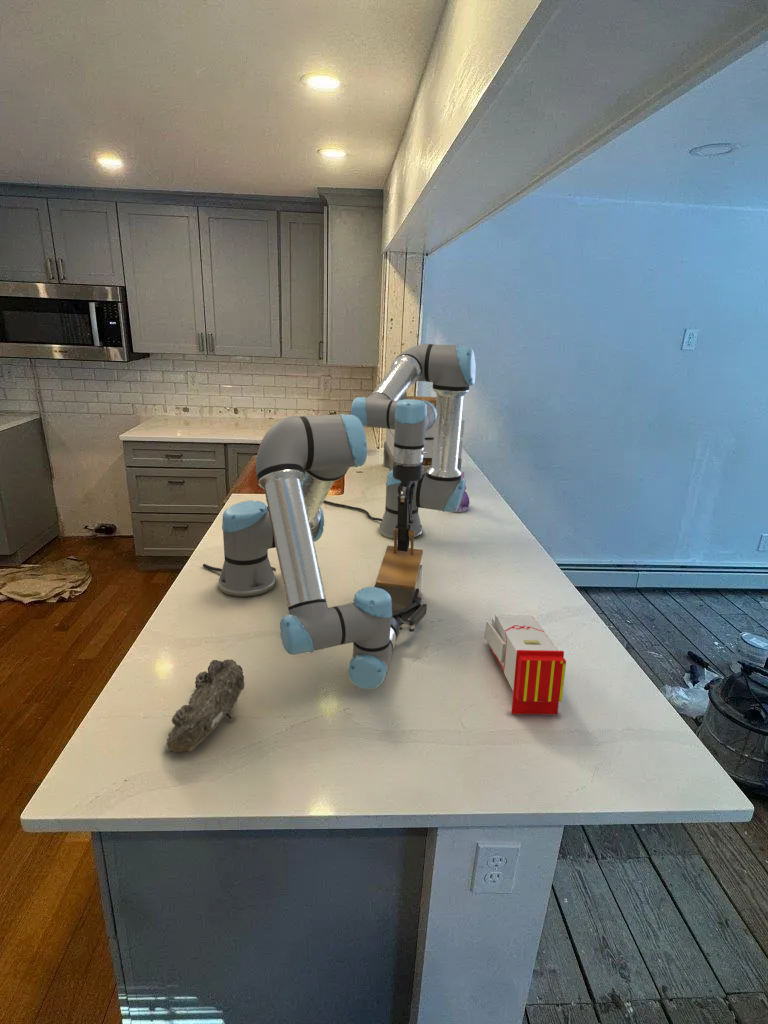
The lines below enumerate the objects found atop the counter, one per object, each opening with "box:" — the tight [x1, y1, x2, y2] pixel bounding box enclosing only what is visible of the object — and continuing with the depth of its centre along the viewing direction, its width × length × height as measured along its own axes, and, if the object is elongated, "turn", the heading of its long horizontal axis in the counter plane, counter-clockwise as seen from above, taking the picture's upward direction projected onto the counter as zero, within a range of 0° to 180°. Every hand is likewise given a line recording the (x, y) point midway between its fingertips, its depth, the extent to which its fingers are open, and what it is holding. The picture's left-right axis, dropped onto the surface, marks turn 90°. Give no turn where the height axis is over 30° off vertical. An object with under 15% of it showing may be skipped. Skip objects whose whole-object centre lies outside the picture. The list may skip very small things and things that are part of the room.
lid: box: [375, 529, 424, 589], centre depth 146 cm, size 16×10×8 cm, turn 169°
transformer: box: [383, 391, 465, 473], centre depth 268 cm, size 34×33×41 cm
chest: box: [376, 564, 423, 621], centre depth 151 cm, size 15×10×9 cm, turn 169°
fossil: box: [166, 658, 245, 754], centre depth 106 cm, size 22×10×15 cm
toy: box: [484, 614, 567, 716], centre depth 124 cm, size 12×13×30 cm
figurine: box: [454, 471, 470, 513], centre depth 225 cm, size 9×10×15 cm
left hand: (397, 590), depth 147 cm, fingers closed on chest, 10 cm apart
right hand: (403, 548), depth 150 cm, fingers closed on lid, 2 cm apart
